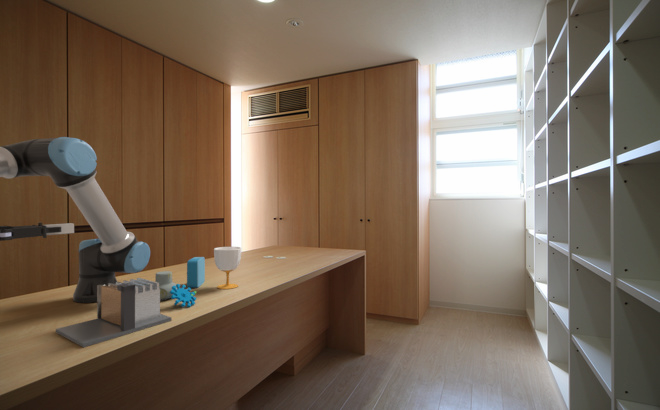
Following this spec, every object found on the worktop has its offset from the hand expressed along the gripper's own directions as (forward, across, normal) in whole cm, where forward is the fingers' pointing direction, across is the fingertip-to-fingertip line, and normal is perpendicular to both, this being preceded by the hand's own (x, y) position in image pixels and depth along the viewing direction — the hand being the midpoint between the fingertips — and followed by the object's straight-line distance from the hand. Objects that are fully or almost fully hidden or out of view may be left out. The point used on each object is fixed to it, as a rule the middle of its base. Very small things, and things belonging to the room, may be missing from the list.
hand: (72, 228), depth 98 cm
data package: (+54, -18, -31) cm, 65 cm away
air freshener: (+34, -10, -31) cm, 47 cm away
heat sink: (+13, +6, -30) cm, 33 cm away
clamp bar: (+8, +5, -28) cm, 30 cm away
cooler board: (+8, +6, -30) cm, 32 cm away
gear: (+32, +5, -31) cm, 45 cm away
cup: (+59, -4, -31) cm, 67 cm away
